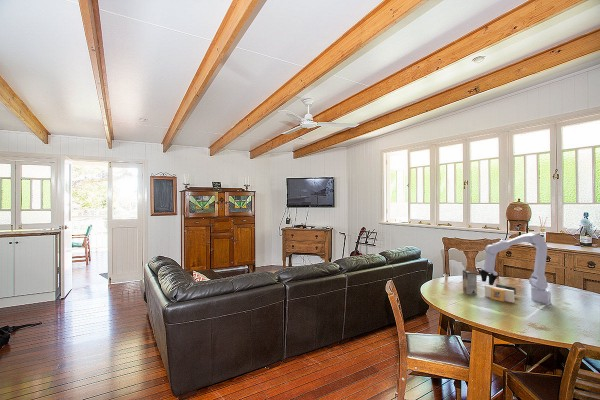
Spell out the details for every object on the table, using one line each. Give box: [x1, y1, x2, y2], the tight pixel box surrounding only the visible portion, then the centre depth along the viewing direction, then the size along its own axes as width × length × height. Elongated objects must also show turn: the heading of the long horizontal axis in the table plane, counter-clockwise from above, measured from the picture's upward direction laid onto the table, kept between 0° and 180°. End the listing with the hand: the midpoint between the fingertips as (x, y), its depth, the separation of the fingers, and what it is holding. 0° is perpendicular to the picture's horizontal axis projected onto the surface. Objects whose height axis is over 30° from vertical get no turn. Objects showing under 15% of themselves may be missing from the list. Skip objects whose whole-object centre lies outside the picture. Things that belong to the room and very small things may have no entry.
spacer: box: [490, 288, 505, 303], centre depth 186 cm, size 7×2×7 cm, turn 36°
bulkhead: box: [484, 284, 515, 304], centre depth 188 cm, size 16×2×9 cm, turn 36°
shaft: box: [494, 283, 517, 296], centre depth 190 cm, size 11×18×4 cm, turn 126°
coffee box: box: [462, 269, 478, 295], centre depth 202 cm, size 9×6×16 cm
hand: (487, 283), depth 193 cm, fingers open, 7 cm apart
